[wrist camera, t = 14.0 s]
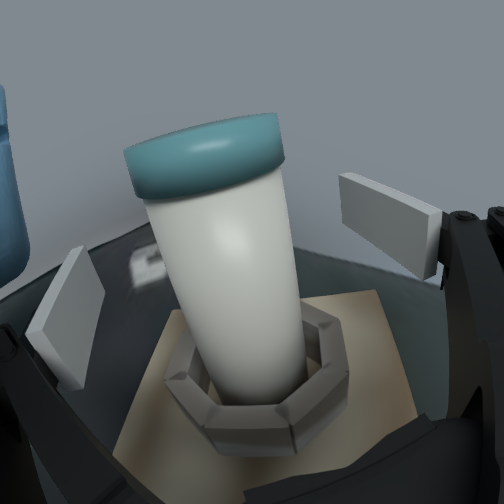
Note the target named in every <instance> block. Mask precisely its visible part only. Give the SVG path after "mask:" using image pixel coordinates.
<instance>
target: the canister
mask: <svg viewBox="0 0 504 504" xmlns="http://www.w3.org/2000/svg"><path fill="white" fill-rule="evenodd" d="M123 152H124V156H125V160H126V163H127V167H128V170H129V174H130V177H131V181H132V184H133V187H134V191H135V194H136V196H137V197H138V198H142V199H143V201H144V204H145V207H146V210H147V213H148V216H149V219H150V223H151V226H152V229H153V232H154V235H155V238H156V241H157V244H158V247H159V250H160V253H161V256H162V258H163V261H164V264H165V267H166V270H167V272H168V275H169V278H170V281H171V283H172V286H173V289H174V291H175V294H176V297H177V299H178V302H179V304H180V307H181V310H182V312H183V315H184V317H185V320H186V322H187V325H188V327H189V330H190V332H191V334H192V337H193V339H194V342H195V344H196V346H197V349H198V351H199V353H200V356H201V358H202V360H203V363H204V365H205V367H206V370H207V372H208V374H209V376H210V378H211V381H212V383H213V385H214V387H215V389H216V392H217V394H218V396H219V398H220V400H221V402H222V404H223V406H253V405H278V404H281V403H282V402H283V401H284V400H285V399H287V398H288V397H289V396H290V395H291V394H293V393H294V392H295V391H296V390H297V389H298V388H300V387H301V386H302V385H303V384H304V383H305V382H306V381H308V380H309V378H308V368H307V359H306V349H305V340H304V331H303V323H302V314H301V306H300V298H299V290H298V282H297V275H296V267H295V260H294V253H293V245H292V239H291V232H290V225H289V218H288V212H287V205H286V199H285V193H284V186H283V180H282V174H281V168H280V165H281V164H282V163H283V162H284V160H285V156H284V150H283V144H282V139H281V133H280V127H279V122H278V116H277V113H264V114H256V115H248V116H242V117H235V118H230V119H225V120H220V121H215V122H210V123H206V124H201V125H198V126H194V127H189V128H186V129H182V130H178V131H175V132H171V133H168V134H165V135H161V136H158V137H155V138H152V139H149V140H146V141H143V142H141V143H138V144H135V145H133V146H131V147H128V148H126V149H124V150H123Z"/></svg>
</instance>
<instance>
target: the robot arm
mask: <svg viewBox="0 0 504 504" xmlns="http://www.w3.org/2000/svg"><path fill="white" fill-rule="evenodd" d="M338 176H339V186H340V197H341V210H342V223H343V224H345V225H346V226H347V227H349V228H350V229H352V230H353V231H355V232H356V233H358V234H359V235H361V236H362V237H363V238H365V239H366V240H368V241H369V242H371V243H372V244H374V245H375V246H376V247H378V248H379V249H381V250H382V251H383V252H385V253H386V254H387V255H389V256H390V257H391V258H393V259H394V260H396V261H397V262H399V263H400V264H401V265H402V266H404V267H405V268H407V269H408V270H409V271H410V272H412V273H413V274H414V275H416V276H417V277H418V278H420V279H421V280H422V281H424V280H426V279H428V278H430V277H432V276H434V275H436V270H437V263H438V261H439V262H440V263H442V264H443V265H444V269H443V275H442V281H441V287H440V290H443V287H444V288H445V297H446V308H447V320H448V337H449V404H448V412H447V416H446V419H441V420H436V421H432V422H431V421H430V420H429V418H428V417H427V416H426V414H425V413H423V414H422V415H420V416H419V417H417V418H415V419H414V420H412V421H410V422H409V423H407V424H405V425H403V426H402V427H400V428H398V429H396V430H395V431H393V432H391V433H389V434H387V435H386V436H385V437H384V438H382V439H381V440H380V441H379V442H378V443H377V444H376V445H374V446H373V447H372V448H371V449H370V450H368V451H367V452H366V453H365V454H363V455H362V456H361V457H360V458H358V459H357V460H356V461H355V462H353V463H352V464H351V465H349V466H347V467H344V468H340V469H335V470H330V471H324V472H318V473H311V474H304V475H297V476H291V477H288V478H285V479H282V480H279V481H276V482H272V483H269V484H266V485H262V486H259V487H255V488H252V489H248V490H244V491H243V493H244V496H245V499H246V501H245V502H243V503H241V504H504V207H500V206H498V207H491V208H489V209H488V217H487V219H486V220H480V219H479V218H478V217H477V216H476V215H475V214H473V213H470V212H467V211H455V212H452V213H450V215H449V214H447V213H445V212H443V211H442V210H440V209H438V208H436V207H433V206H431V205H429V204H427V203H425V202H423V201H420V200H418V199H416V198H414V197H411V196H409V195H407V194H404V193H402V192H400V191H397V190H395V189H393V188H390V187H387V186H385V185H383V184H380V183H378V182H375V181H373V180H370V179H368V178H365V177H363V176H360V175H357V174H355V173H352V172H348V173H344V174H339V175H338ZM29 256H30V243H29V238H28V233H27V228H26V224H25V220H24V215H23V211H22V206H21V201H20V196H19V191H18V186H17V181H16V176H15V170H14V165H13V159H12V152H11V146H10V143H9V133H8V125H7V109H6V99H5V91H4V88H3V86H2V85H0V288H2V287H3V286H5V285H6V284H7V283H9V282H10V281H12V280H14V279H15V278H17V277H18V276H19V275H20V274H21V273H22V272H23V271H24V269H25V267H26V265H27V262H28V260H29ZM104 295H105V290H104V288H103V286H102V284H101V282H100V279H99V277H98V275H97V273H96V270H95V268H94V266H93V264H92V261H91V259H90V257H89V254H88V252H87V250H86V247H85V245H82V246H80V247H77V248H74V249H71V251H70V253H69V254H68V256H67V258H66V259H65V261H64V262H63V264H62V266H61V267H60V269H59V271H58V273H57V274H56V276H55V278H54V279H53V281H52V283H51V285H50V287H49V288H48V290H47V292H46V294H45V296H44V298H43V299H42V301H41V303H40V305H39V306H38V307H37V308H36V309H35V311H34V312H33V313H32V315H31V317H30V319H29V320H30V321H28V323H27V325H26V328H25V329H24V331H23V333H22V335H21V338H20V340H19V338H18V337H17V335H16V334H15V332H14V330H13V329H12V327H11V326H10V325H9V324H8V323H7V324H2V325H0V504H47V502H46V499H45V496H44V493H43V490H42V487H41V484H40V481H39V478H38V474H37V471H36V467H35V464H34V460H33V456H32V452H31V448H30V444H29V440H30V442H31V444H32V446H33V448H34V449H35V451H36V453H37V455H38V456H39V458H40V460H41V461H42V463H43V465H44V466H45V468H46V470H47V471H48V473H49V474H50V476H51V478H52V479H53V481H54V482H55V484H56V485H57V487H58V488H59V490H60V491H61V493H62V494H63V495H64V497H65V498H66V500H67V501H68V502H69V504H165V503H164V502H163V501H162V500H161V499H159V498H158V497H157V496H156V495H155V494H153V493H152V492H151V491H150V490H149V489H148V488H146V487H145V486H144V485H143V484H142V483H141V482H140V481H139V480H137V479H136V478H135V477H134V476H133V475H132V474H131V473H130V472H129V471H128V470H127V469H126V468H125V467H124V466H123V465H122V464H121V463H120V462H119V461H118V460H117V459H116V458H115V457H114V456H113V455H112V454H111V453H110V452H109V451H108V450H107V449H106V448H105V447H104V446H103V445H102V444H101V443H100V442H99V440H98V439H97V438H96V437H95V436H94V435H93V434H92V433H91V432H90V430H89V429H88V428H87V427H86V426H85V425H84V423H83V422H82V421H81V420H80V419H79V417H78V416H77V415H76V414H75V412H74V411H73V410H72V409H71V407H70V406H69V405H68V404H67V402H66V401H65V400H64V398H63V397H62V396H61V394H60V393H59V392H58V391H57V390H56V388H57V384H58V381H59V383H60V384H61V385H62V386H63V388H64V389H65V390H66V391H67V392H69V391H75V390H81V389H84V384H85V378H86V373H87V368H88V363H89V358H90V353H91V348H92V344H93V339H94V335H95V330H96V326H97V322H98V318H99V314H100V310H101V306H102V303H103V299H104ZM28 438H29V440H28Z"/></svg>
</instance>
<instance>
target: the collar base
mask: <svg viewBox="0 0 504 504" xmlns="http://www.w3.org/2000/svg"><path fill="white" fill-rule="evenodd" d="M300 306H301V314H302V323H303V331H304V340H305V349H306V359H307V368H308V378H309V380H308V381H306V382H305V383H304V384H303V385H302V386H301V387H300V388H298V389H297V390H296V391H295V392H294V393H293V394H291V395H290V396H289V397H288V398H287V399H285V400H284V401H283V402H282V403H281V404H278V405H253V406H223V404H222V402H221V400H220V398H219V396H218V394H217V392H216V389H215V387H214V385H213V383H212V381H211V378H210V376H209V374H208V372H207V370H206V367H205V365H204V363H203V360H202V358H201V356H200V353H199V351H198V349H197V346H196V344H195V342H194V339H193V337H192V334H191V332H190V330H189V327H188V325H187V322H186V320H185V317H184V315H183V312H182V310H181V309H178V310H172V312H171V315H170V317H169V319H168V321H167V323H166V326H165V328H164V330H163V332H162V335H161V337H160V339H159V341H158V344H157V346H156V348H155V351H154V353H153V355H152V358H151V360H150V362H149V365H148V367H147V369H146V372H145V374H144V376H143V379H142V381H141V383H140V386H139V388H138V391H137V393H136V396H135V398H134V400H133V403H132V405H131V408H130V410H129V413H128V415H127V418H126V420H125V423H124V425H123V428H122V430H121V433H120V436H119V438H118V441H117V443H116V446H115V449H114V451H113V454H112V455H113V456H114V457H115V458H116V459H117V460H118V461H119V462H120V463H121V464H122V465H123V466H124V467H125V468H126V469H127V470H128V471H129V472H130V473H131V474H132V475H133V476H134V477H135V478H136V479H137V480H139V481H140V482H141V483H142V484H143V485H144V486H145V487H146V488H148V489H149V490H150V491H151V492H152V493H153V494H155V495H156V496H157V497H158V498H159V499H161V500H162V501H163V502H164V503H165V504H241V503H243V502H245V501H246V499H245V496H244V493H243V491H244V490H248V489H252V488H255V487H259V486H262V485H266V484H269V483H272V482H276V481H279V480H282V479H285V478H288V477H291V476H297V475H304V474H311V473H318V472H324V471H330V470H335V469H340V468H344V467H347V466H349V465H351V464H352V463H353V462H355V461H356V460H357V459H358V458H360V457H361V456H362V455H363V454H365V453H366V452H367V451H368V450H370V449H371V448H372V447H373V446H374V445H376V444H377V443H378V442H379V441H380V440H381V439H382V438H384V437H385V436H386V435H387V434H389V433H391V432H393V431H395V430H396V429H398V428H400V427H402V426H403V425H405V424H407V423H409V422H410V421H412V420H414V419H415V418H417V417H418V415H417V412H416V408H415V405H414V401H413V398H412V394H411V391H410V387H409V384H408V381H407V378H406V374H405V371H404V368H403V365H402V362H401V359H400V356H399V353H398V350H397V347H396V344H395V341H394V338H393V335H392V332H391V330H390V327H389V324H388V321H387V319H386V316H385V313H384V311H383V308H382V305H381V303H380V300H379V297H378V295H377V292H376V290H375V289H374V290H367V291H360V292H352V293H345V294H337V295H329V296H321V297H312V298H303V299H300Z"/></svg>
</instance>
